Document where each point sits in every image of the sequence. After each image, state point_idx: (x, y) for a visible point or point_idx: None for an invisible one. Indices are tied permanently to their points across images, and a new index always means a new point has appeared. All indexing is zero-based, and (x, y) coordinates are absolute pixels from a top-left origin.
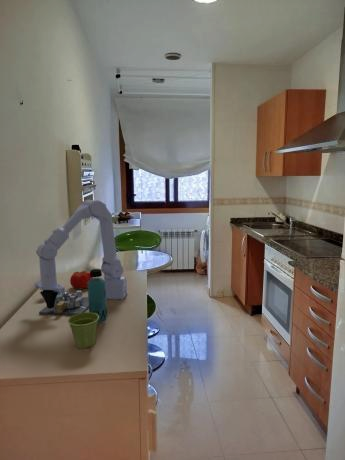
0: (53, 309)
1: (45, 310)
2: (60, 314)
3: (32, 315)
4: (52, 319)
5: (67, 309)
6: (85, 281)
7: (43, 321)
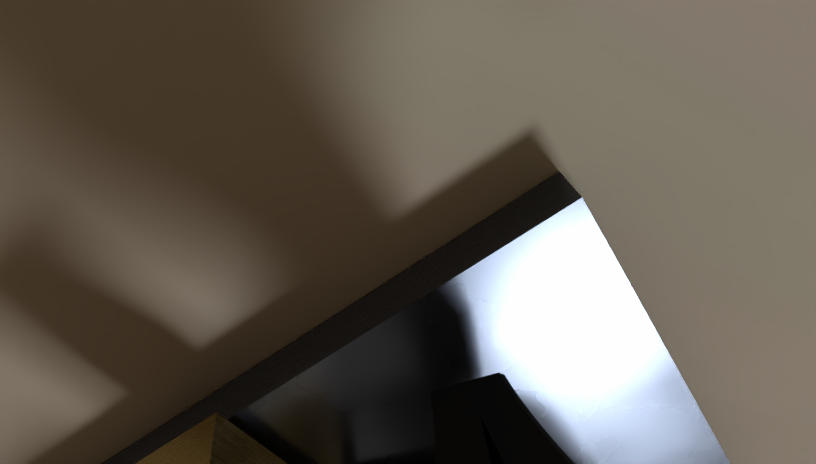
0: None
1: (529, 309)
2: (192, 415)
3: (643, 52)
4: (85, 245)
5: None
6: None
7: (100, 65)
